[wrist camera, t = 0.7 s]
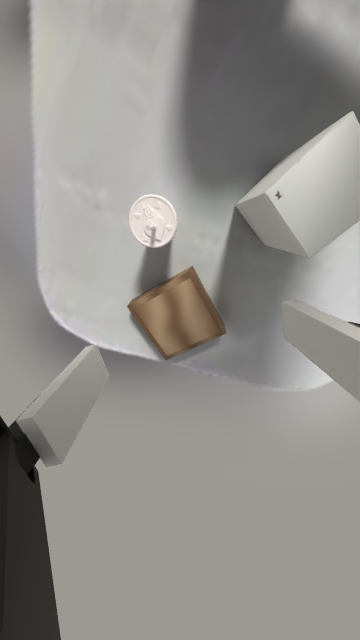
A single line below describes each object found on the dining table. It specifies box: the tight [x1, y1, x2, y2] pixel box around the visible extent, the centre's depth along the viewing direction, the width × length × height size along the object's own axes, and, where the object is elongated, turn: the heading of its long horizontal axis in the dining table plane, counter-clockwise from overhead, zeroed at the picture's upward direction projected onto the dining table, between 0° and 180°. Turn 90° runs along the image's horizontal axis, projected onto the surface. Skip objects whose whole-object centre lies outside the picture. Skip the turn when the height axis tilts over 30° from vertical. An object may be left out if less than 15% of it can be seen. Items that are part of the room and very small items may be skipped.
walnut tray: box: [127, 266, 226, 360], centre depth 40 cm, size 14×14×4 cm
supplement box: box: [235, 111, 360, 258], centre depth 26 cm, size 9×9×15 cm
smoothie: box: [129, 195, 177, 248], centre depth 29 cm, size 6×6×14 cm
